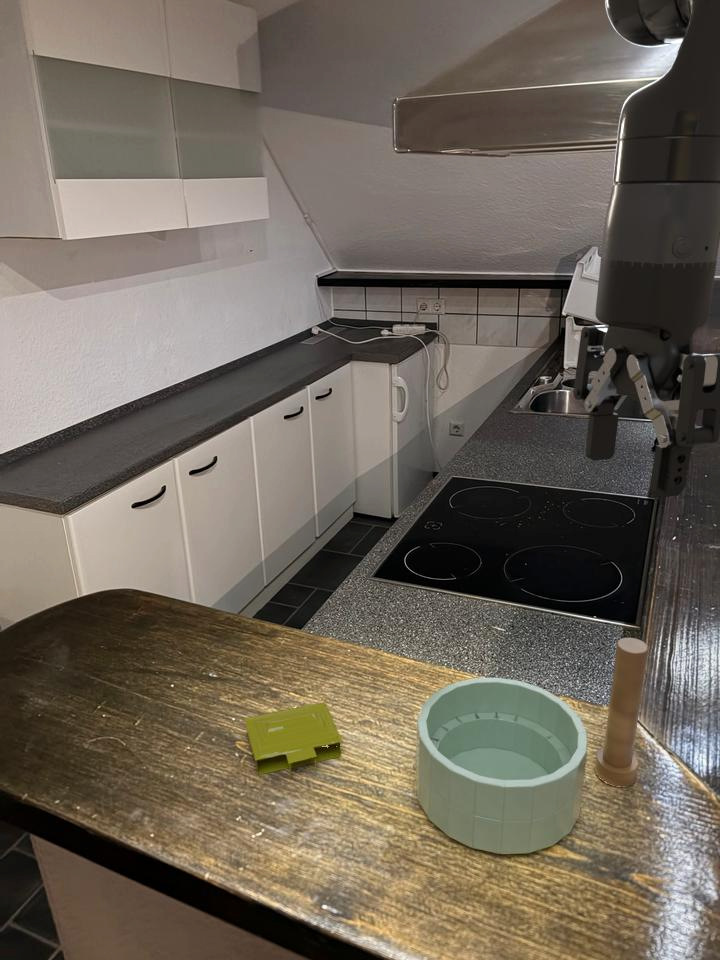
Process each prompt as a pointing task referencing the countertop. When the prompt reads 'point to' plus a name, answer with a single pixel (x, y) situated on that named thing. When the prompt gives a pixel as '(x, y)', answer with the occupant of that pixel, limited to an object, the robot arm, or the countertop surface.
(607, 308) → the robot arm
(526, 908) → the countertop surface
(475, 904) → the countertop surface
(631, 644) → the stirring stick
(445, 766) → the bowl
